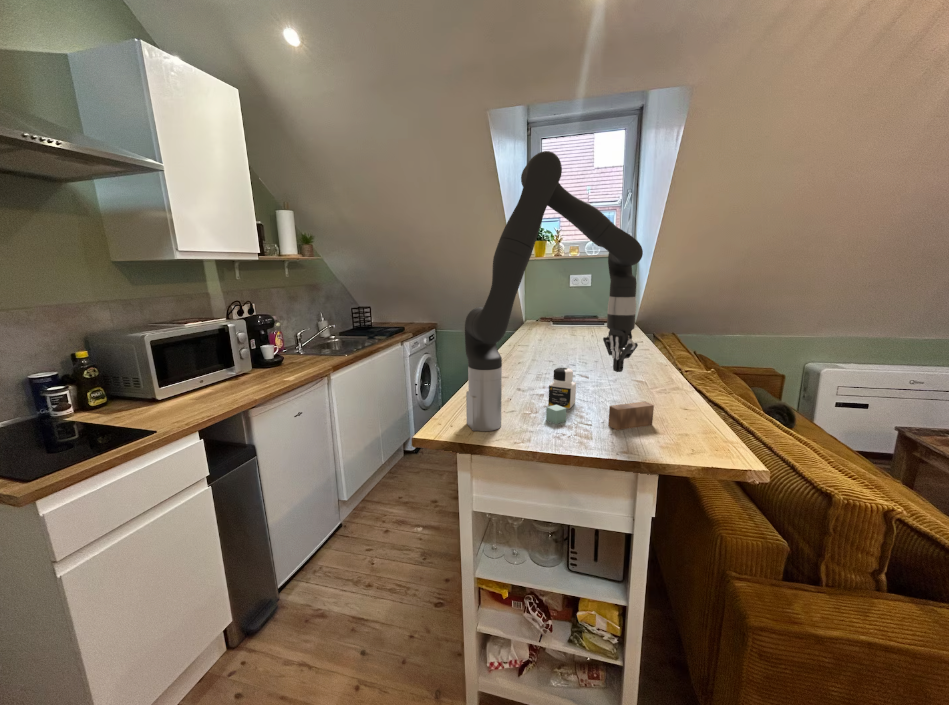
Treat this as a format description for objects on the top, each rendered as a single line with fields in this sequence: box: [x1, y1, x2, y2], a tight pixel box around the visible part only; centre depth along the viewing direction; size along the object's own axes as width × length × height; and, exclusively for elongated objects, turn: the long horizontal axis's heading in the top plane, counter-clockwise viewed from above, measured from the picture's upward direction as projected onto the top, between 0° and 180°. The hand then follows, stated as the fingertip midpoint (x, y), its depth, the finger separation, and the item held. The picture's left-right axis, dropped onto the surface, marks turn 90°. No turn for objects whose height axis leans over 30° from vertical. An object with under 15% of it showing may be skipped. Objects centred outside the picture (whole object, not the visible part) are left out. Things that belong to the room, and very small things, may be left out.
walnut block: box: [607, 401, 655, 431], centre depth 113 cm, size 6×4×12 cm
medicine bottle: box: [548, 367, 577, 410], centre depth 130 cm, size 7×7×12 cm
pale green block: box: [545, 405, 567, 425], centre depth 117 cm, size 4×4×4 cm
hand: (617, 371), depth 118 cm, fingers closed
